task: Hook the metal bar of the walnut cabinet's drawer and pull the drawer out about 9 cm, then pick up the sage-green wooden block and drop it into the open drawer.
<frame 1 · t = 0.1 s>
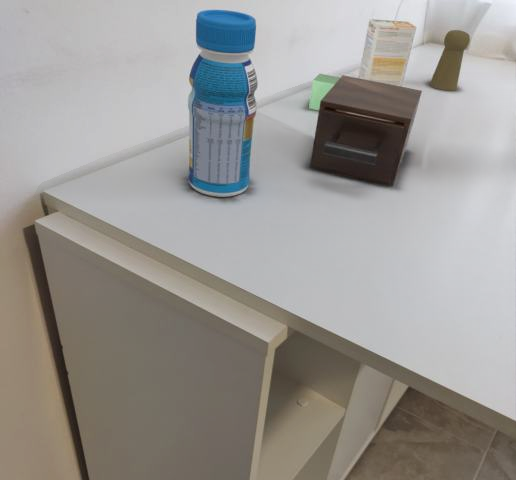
supplement box: (376, 95, 111), on the table
cabinet: (359, 159, 84), on the table
olive pawn: (442, 87, 121), on the table
block: (324, 107, 102), on the table
drawer: (361, 138, 78), point 5 cm above the table, slide at 0.0 cm
beverage bottle: (218, 186, 73), on the table
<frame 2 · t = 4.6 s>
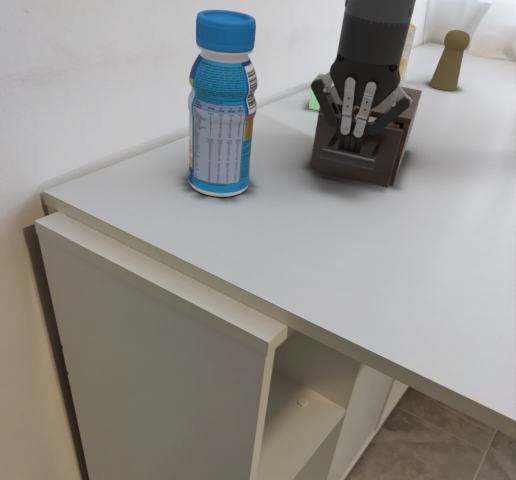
hand: (346, 161, 72), 4 cm above the table, tool pointing down, fingers closed
drawer: (358, 142, 76), point 5 cm above the table, slide at 1.7 cm, touching gripper
everything else where it was.
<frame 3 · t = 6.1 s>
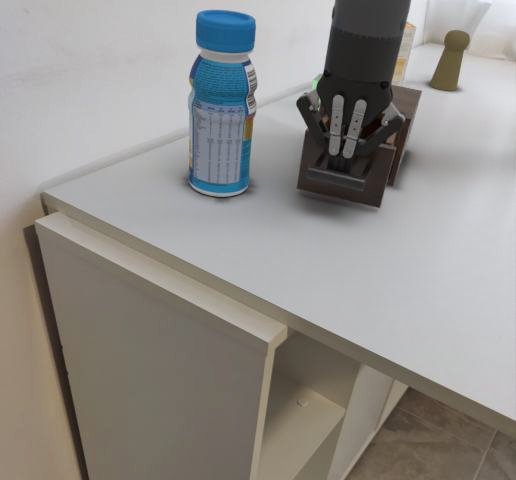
hand: (335, 183, 67), 4 cm above the table, tool pointing down, fingers closed
drawer: (349, 159, 71), point 5 cm above the table, slide at 8.7 cm
everything else where it was.
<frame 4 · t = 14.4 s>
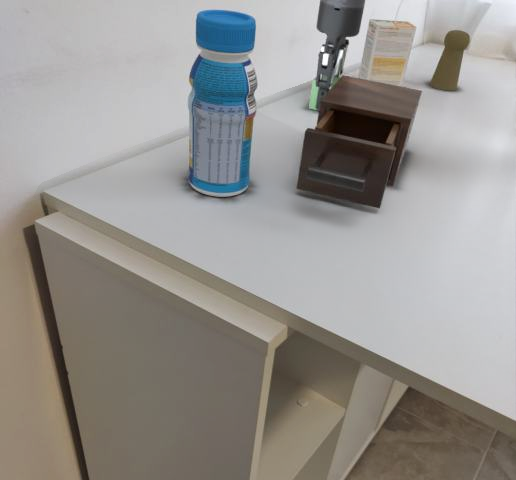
hand: (324, 105, 101), 0 cm above the table, tool pointing down, fingers closed on block, 5 cm apart
block: (324, 107, 102), on the table, touching gripper
everything else where it was.
when the fingers open (11 cm above the table, at t = 37.7 s): block drops 9 cm, resting on drawer.
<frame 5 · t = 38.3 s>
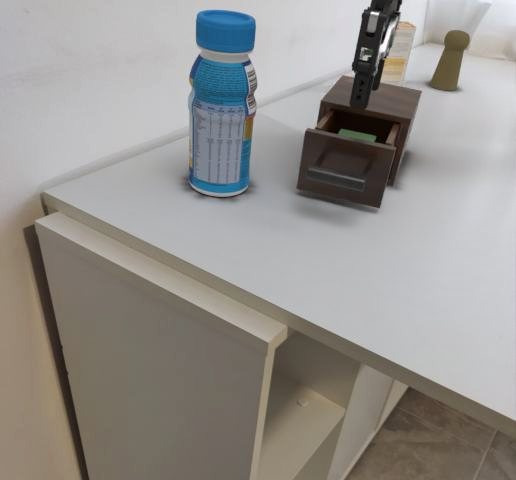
hand: (364, 98, 68), 12 cm above the table, tool pointing down, fingers open, 8 cm apart
block: (347, 174, 75), point 2 cm above the table, touching drawer
drawer: (349, 159, 71), point 5 cm above the table, slide at 8.8 cm, touching block
everything else where it was.
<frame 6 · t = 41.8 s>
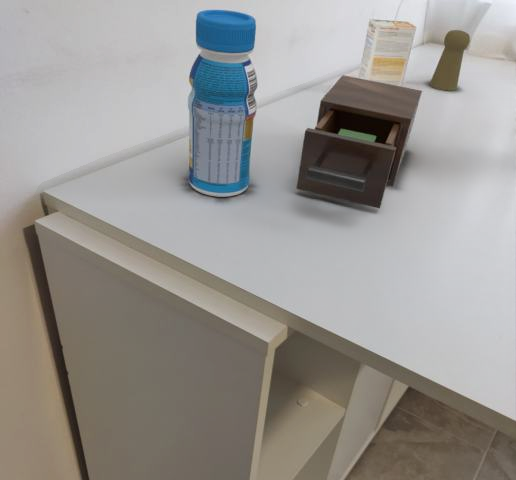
nothing on the table moved.
at the end: drawer slide at 8.8 cm; block touching drawer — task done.
